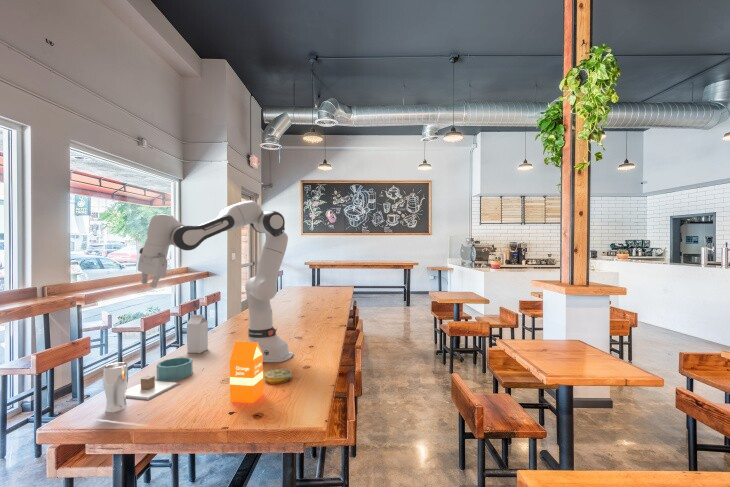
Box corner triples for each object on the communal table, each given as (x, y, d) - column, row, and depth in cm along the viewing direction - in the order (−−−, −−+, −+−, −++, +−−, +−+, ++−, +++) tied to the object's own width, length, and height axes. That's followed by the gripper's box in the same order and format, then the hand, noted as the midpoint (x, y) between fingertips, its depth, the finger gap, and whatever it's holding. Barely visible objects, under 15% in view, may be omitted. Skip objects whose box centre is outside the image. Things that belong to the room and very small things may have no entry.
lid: (177, 384, 143) (177, 372, 143) (148, 399, 129) (147, 386, 129) (147, 382, 146) (147, 370, 146) (116, 396, 132) (116, 383, 132)
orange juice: (253, 403, 126) (252, 345, 126) (229, 401, 128) (229, 344, 128) (263, 394, 134) (262, 339, 134) (241, 392, 135) (240, 338, 136)
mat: (181, 385, 143) (181, 383, 143) (148, 402, 128) (148, 401, 128) (147, 382, 147) (147, 380, 147) (111, 398, 132) (111, 397, 132)
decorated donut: (297, 379, 148) (297, 370, 148) (274, 387, 140) (274, 378, 140) (282, 373, 155) (282, 365, 155) (259, 381, 147) (259, 371, 147)
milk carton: (199, 353, 186) (198, 316, 186) (187, 352, 188) (186, 316, 188) (208, 349, 193) (207, 313, 193) (196, 349, 195) (195, 313, 195)
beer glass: (111, 406, 126) (111, 362, 126) (132, 405, 126) (132, 361, 126) (98, 415, 119) (98, 369, 119) (121, 414, 119) (120, 368, 119)
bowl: (198, 372, 158) (198, 358, 158) (176, 383, 146) (176, 368, 146) (173, 370, 161) (173, 356, 161) (149, 380, 149) (149, 366, 149)
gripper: (174, 255, 146) (166, 290, 145) (154, 251, 159) (147, 282, 158) (157, 253, 141) (149, 289, 140) (138, 248, 154) (131, 281, 153)
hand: (148, 285), depth 149 cm, fingers open, 8 cm apart
